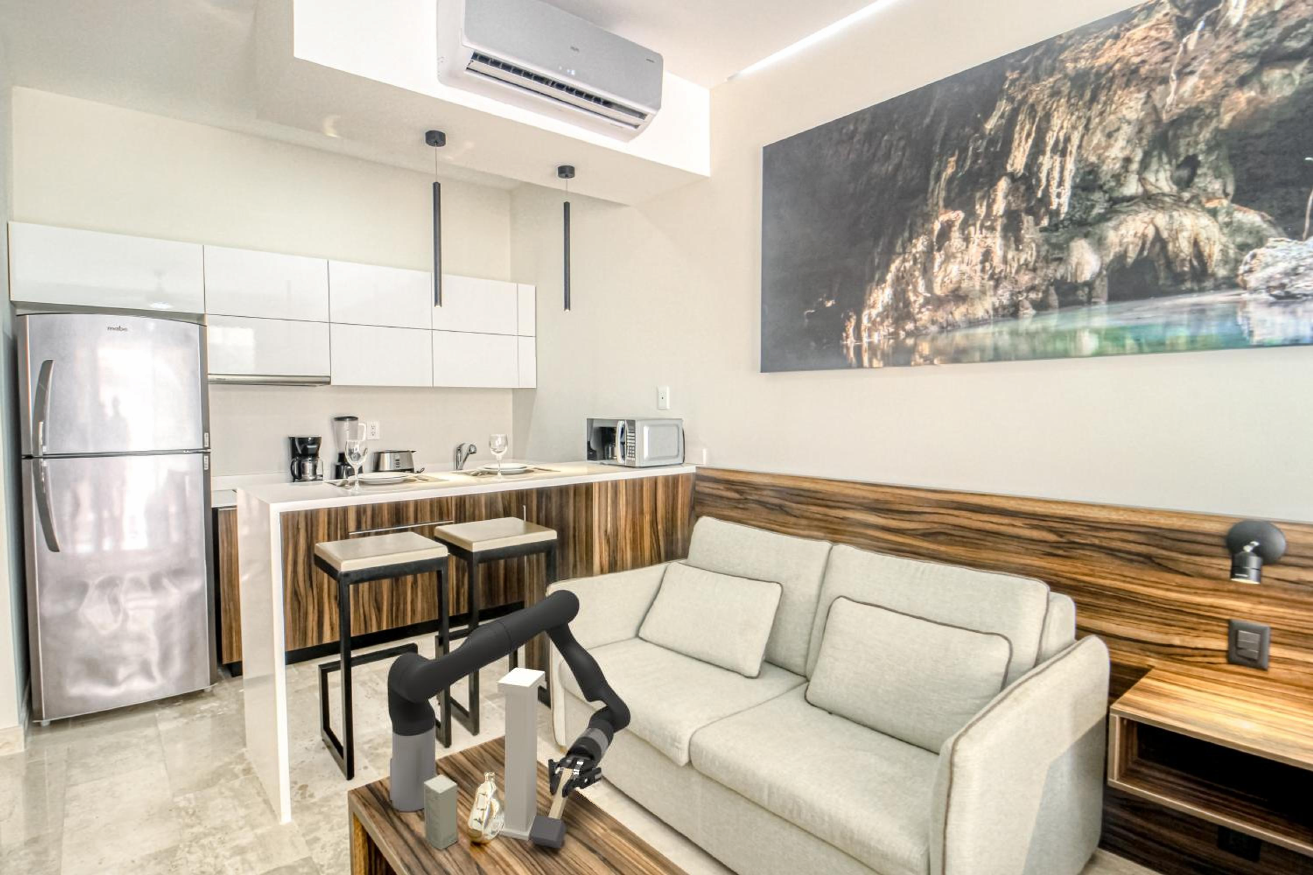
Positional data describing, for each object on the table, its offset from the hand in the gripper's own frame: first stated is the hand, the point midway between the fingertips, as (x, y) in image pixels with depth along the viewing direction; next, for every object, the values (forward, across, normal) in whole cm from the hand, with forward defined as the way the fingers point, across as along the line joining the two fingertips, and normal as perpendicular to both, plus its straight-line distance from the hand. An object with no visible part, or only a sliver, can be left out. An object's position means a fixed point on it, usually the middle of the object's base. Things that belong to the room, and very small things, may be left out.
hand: (558, 792), depth 141 cm
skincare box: (+10, -22, +8) cm, 25 cm away
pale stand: (+1, -8, +8) cm, 12 cm away
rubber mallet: (-1, 0, +4) cm, 4 cm away
